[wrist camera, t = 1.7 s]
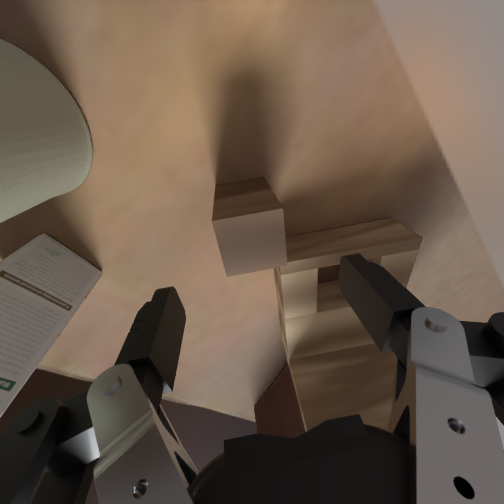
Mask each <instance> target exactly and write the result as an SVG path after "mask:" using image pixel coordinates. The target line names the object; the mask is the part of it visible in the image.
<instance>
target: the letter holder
mask: <svg viewBox="0 0 504 504" xmlns="http://www.w3.org/2000/svg"><path fill="white" fill-rule="evenodd" d="M254 413H255V419H256V426H257V434H264V435H271V436H279V437H287V438H296V437H298V436H300V435H302V434H303V433H305V432H306V430H305V427H304V423H303V419H302V415H301V411H300V407H299V404H298V400H297V396H296V392H295V388H294V384H293V381H292V377H291V373H290V369H289V365H288V364H287V365H286V366H285V368H284V369H283V370H282V372H281V373H280V374H279V376H278V377H277V378H276V379H275V381H274V382H273V383H272V385H271V386H270V387H269V389H268V390H267V392H266V393H265V394H264V396H263V397H262V398H261V399H260V401H259V402H258V404H257V405H256V406H255V408H254Z"/></svg>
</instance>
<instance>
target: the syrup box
mask: <svg viewBox="0 0 504 504" xmlns="http://www.w3.org/2000/svg"><path fill="white" fill-rule="evenodd" d="M101 275H102V272H101V271H100V270H98V269H97V268H95V267H94V266H93V265H91V264H90V263H89V262H87V261H86V260H84V259H83V258H81V257H80V256H78V255H77V254H75V253H74V252H72V251H71V250H69V249H68V248H66V247H65V246H63V245H62V244H60V243H59V242H57V241H56V240H54V239H53V238H51V237H50V236H48V235H47V234H45V233H43V234H41V235H39V236H37V237H36V238H34V239H33V240H31V241H30V242H28V243H27V244H26V245H24V246H23V247H21V248H20V249H18V250H17V251H15V252H14V253H12V254H11V255H9V256H8V257H6V258H5V259H3V260H2V261H1V262H0V417H1V416H2V415H3V413H4V412H5V410H6V409H7V407H8V406H9V405H10V403H11V402H12V401H13V399H14V398H15V396H16V395H17V394H18V392H19V391H20V389H21V388H22V387H23V385H24V384H25V382H26V381H27V380H28V378H29V377H30V375H31V374H32V373H33V371H34V370H35V368H36V367H37V366H38V364H39V363H40V362H41V360H42V359H43V357H44V356H45V354H46V353H47V352H48V350H49V349H50V347H51V346H52V345H53V343H54V342H55V340H56V339H57V338H58V336H59V335H60V333H61V332H62V331H63V329H64V328H65V326H66V325H67V323H68V322H69V321H70V319H71V318H72V316H73V315H74V313H75V312H76V311H77V309H78V308H79V306H80V305H81V304H82V302H83V301H84V299H85V298H86V297H87V295H88V294H89V292H90V291H91V289H92V288H93V287H94V285H95V284H96V282H97V281H98V280H99V278H100V277H101Z"/></svg>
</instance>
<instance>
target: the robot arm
mask: <svg viewBox="0 0 504 504" xmlns="http://www.w3.org/2000/svg"><path fill="white" fill-rule="evenodd" d="M338 283H339V288H340V291H341V293H342V295H343V296H344V298H345V299H346V300H347V302H348V303H349V305H350V306H351V308H352V309H353V311H354V312H355V314H356V315H357V317H358V318H359V320H360V321H361V323H362V324H363V326H364V327H365V329H366V330H367V332H368V333H369V335H370V336H371V338H372V339H373V341H374V342H375V344H376V345H377V346H378V348H379V349H380V351H381V352H382V353H384V352H389V351H393V352H394V354H395V355H396V356H397V357H396V360H395V372H394V387H393V401H392V410H391V415H390V419H389V425H388V431H386V430H384V429H381V428H379V427H375V426H371V425H367V424H364V423H363V421H362V418H361V416H360V414H355V415H350V416H345V417H340V418H335V419H330V420H326V421H324V422H322V423H321V424H319V425H317V426H315V427H314V428H312V429H310V430H309V431H307V432H305V433H303V434H302V435H300V436H298V437H296V438H287V437H279V436H271V435H264V434H254V435H248V436H243V437H238V438H233V439H228V440H224V452H222V453H220V454H219V455H217V456H216V457H215V458H213V459H212V460H211V461H210V462H209V463H208V464H207V465H206V466H205V467H204V468H203V469H202V470H201V472H200V473H198V471H197V469H196V467H195V466H194V464H193V462H192V461H191V459H190V457H189V456H188V454H187V453H186V451H185V450H184V448H183V446H182V445H181V443H180V441H179V439H178V437H177V435H176V433H175V431H174V429H173V428H172V425H171V424H170V422H169V420H168V418H167V416H166V414H165V413H164V411H163V408H162V407H161V405H160V402H161V397H162V394H165V393H170V392H173V386H174V381H175V376H176V370H177V365H178V360H179V354H180V349H181V344H182V338H183V333H184V328H185V322H186V315H185V310H184V307H183V305H182V303H181V300H180V298H179V296H178V294H177V291H176V289H175V288H174V287H173V286H172V287H167V288H161V289H157V290H156V291H155V293H154V295H153V298H152V300H151V302H146V303H145V304H144V305H143V307H142V308H141V309H140V310H139V311H138V313H137V315H136V317H135V320H134V323H133V324H132V326H131V329H130V332H129V333H128V335H127V338H126V340H125V342H124V344H123V347H122V349H121V351H120V353H119V356H118V358H117V360H116V363H115V365H114V366H112V367H110V368H109V369H107V370H106V371H104V372H103V373H102V374H101V375H99V376H98V377H97V379H96V380H95V381H94V382H93V384H92V385H91V387H90V389H89V390H88V391H86V392H84V393H82V394H79V395H77V396H75V397H73V398H71V399H69V400H67V401H65V402H63V403H60V402H59V401H58V400H57V399H55V398H53V397H46V398H43V399H40V400H38V401H36V402H34V403H32V404H31V405H29V406H28V407H26V408H25V409H24V410H22V411H21V412H20V413H19V414H18V415H17V416H16V417H15V418H14V419H13V420H12V421H11V423H10V424H9V425H8V426H7V428H6V429H5V431H4V432H3V434H2V435H1V437H0V504H28V502H29V500H30V497H31V495H32V493H33V491H34V489H35V487H36V485H37V483H38V481H39V478H40V476H41V474H42V472H43V470H44V471H46V473H45V475H44V477H43V479H42V481H41V483H40V486H39V488H38V490H37V492H36V494H35V497H34V499H33V501H32V503H31V504H84V503H85V500H86V497H87V494H88V491H89V488H90V485H91V482H92V479H93V476H94V479H95V484H96V489H97V493H98V498H99V503H100V504H504V449H503V445H502V441H501V437H500V433H499V429H498V425H497V421H496V417H497V418H498V419H499V420H500V422H501V423H502V424H503V425H504V312H499V313H495V314H493V315H492V316H491V317H490V319H489V321H488V322H487V323H481V322H468V321H458V320H457V319H456V318H455V317H453V316H452V315H450V314H449V313H447V312H445V311H442V310H440V309H436V308H431V307H426V306H424V305H423V304H422V303H421V302H420V301H419V300H418V299H417V298H416V297H415V296H414V295H413V294H412V293H411V292H409V291H408V290H407V289H406V288H405V287H404V286H403V285H402V284H401V283H400V282H398V280H397V279H396V278H394V277H393V276H391V274H390V273H389V272H388V271H387V270H386V269H385V268H384V267H382V266H380V265H378V264H376V263H374V262H368V261H367V260H366V259H365V258H364V257H363V256H362V255H361V254H359V253H356V254H350V255H345V256H342V257H341V259H340V268H339V280H338ZM99 457H100V460H99ZM98 460H99V461H98Z"/></svg>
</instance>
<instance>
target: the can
mask: <svg viewBox="0 0 504 504" xmlns="http://www.w3.org/2000/svg"><path fill="white" fill-rule="evenodd" d="M92 157H93V146H92V141H91V135H90V132H89V129H88V126H87V123H86V121H85V119H84V116H83V114H82V112H81V110H80V109H79V107H78V105H77V104H76V102H75V100H74V99H73V97H72V96H71V95H70V93H69V92H68V91H67V89H66V88H65V87H64V86H63V85H62V83H61V82H60V81H59V80H58V79H57V78H56V77H55V76H54V75H53V74H52V73H51V72H50V71H49V70H48V69H47V68H46V67H44V66H43V65H42V64H41V63H40V62H38V61H37V60H36V59H34V58H33V57H32V56H30V55H29V54H27V53H26V52H24V51H23V50H21V49H20V48H18V47H16V46H14V45H12V44H10V43H8V42H6V41H4V40H2V39H0V223H2V222H4V221H6V220H8V219H10V218H12V217H14V216H16V215H18V214H20V213H22V212H24V211H26V210H28V209H30V208H32V207H34V206H36V205H38V204H40V203H42V202H44V201H46V200H49V199H51V198H53V197H55V196H60V195H63V194H66V193H68V192H70V191H73V190H74V189H75V188H77V187H78V186H79V185H80V184H81V183H82V182H83V181H84V180H85V178H86V177H87V175H88V173H89V171H90V168H91V164H92Z"/></svg>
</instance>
